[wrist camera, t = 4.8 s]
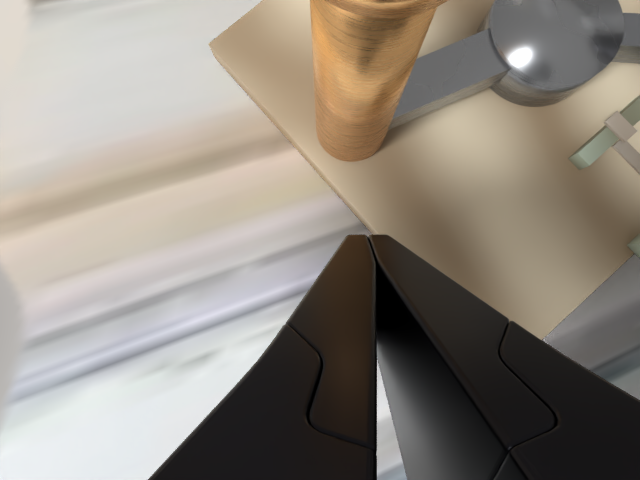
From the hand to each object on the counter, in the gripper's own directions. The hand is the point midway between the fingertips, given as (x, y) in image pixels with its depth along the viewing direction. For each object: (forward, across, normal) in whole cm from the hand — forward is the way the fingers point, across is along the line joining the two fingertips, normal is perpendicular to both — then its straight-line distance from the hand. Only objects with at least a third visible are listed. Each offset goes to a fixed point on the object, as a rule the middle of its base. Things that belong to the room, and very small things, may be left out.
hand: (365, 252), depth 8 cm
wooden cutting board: (+11, +6, 0) cm, 12 cm away
